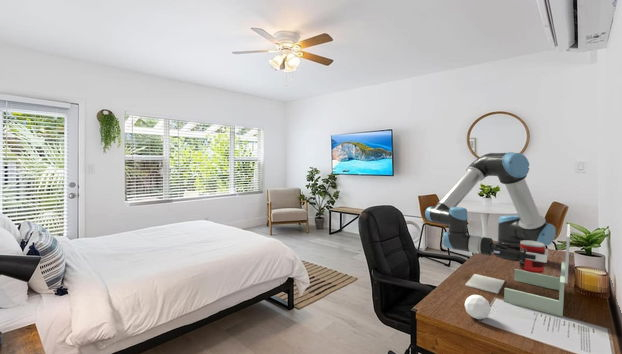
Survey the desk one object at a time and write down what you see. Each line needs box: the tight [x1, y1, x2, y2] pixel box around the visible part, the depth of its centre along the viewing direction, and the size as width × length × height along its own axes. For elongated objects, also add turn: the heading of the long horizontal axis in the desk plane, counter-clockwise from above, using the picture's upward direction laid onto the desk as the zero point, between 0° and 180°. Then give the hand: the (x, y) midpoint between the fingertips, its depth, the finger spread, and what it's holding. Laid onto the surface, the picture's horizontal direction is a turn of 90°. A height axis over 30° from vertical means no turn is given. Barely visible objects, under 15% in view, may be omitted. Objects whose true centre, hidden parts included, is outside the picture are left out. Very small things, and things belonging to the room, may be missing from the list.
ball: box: [464, 294, 492, 320], centre depth 103 cm, size 8×8×8 cm
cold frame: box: [503, 223, 571, 318], centre depth 119 cm, size 28×18×28 cm, turn 139°
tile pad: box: [465, 273, 505, 295], centre depth 131 cm, size 16×12×1 cm
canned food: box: [519, 240, 546, 274], centre depth 120 cm, size 8×8×11 cm
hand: (547, 256), depth 117 cm, fingers closed on canned food, 8 cm apart
